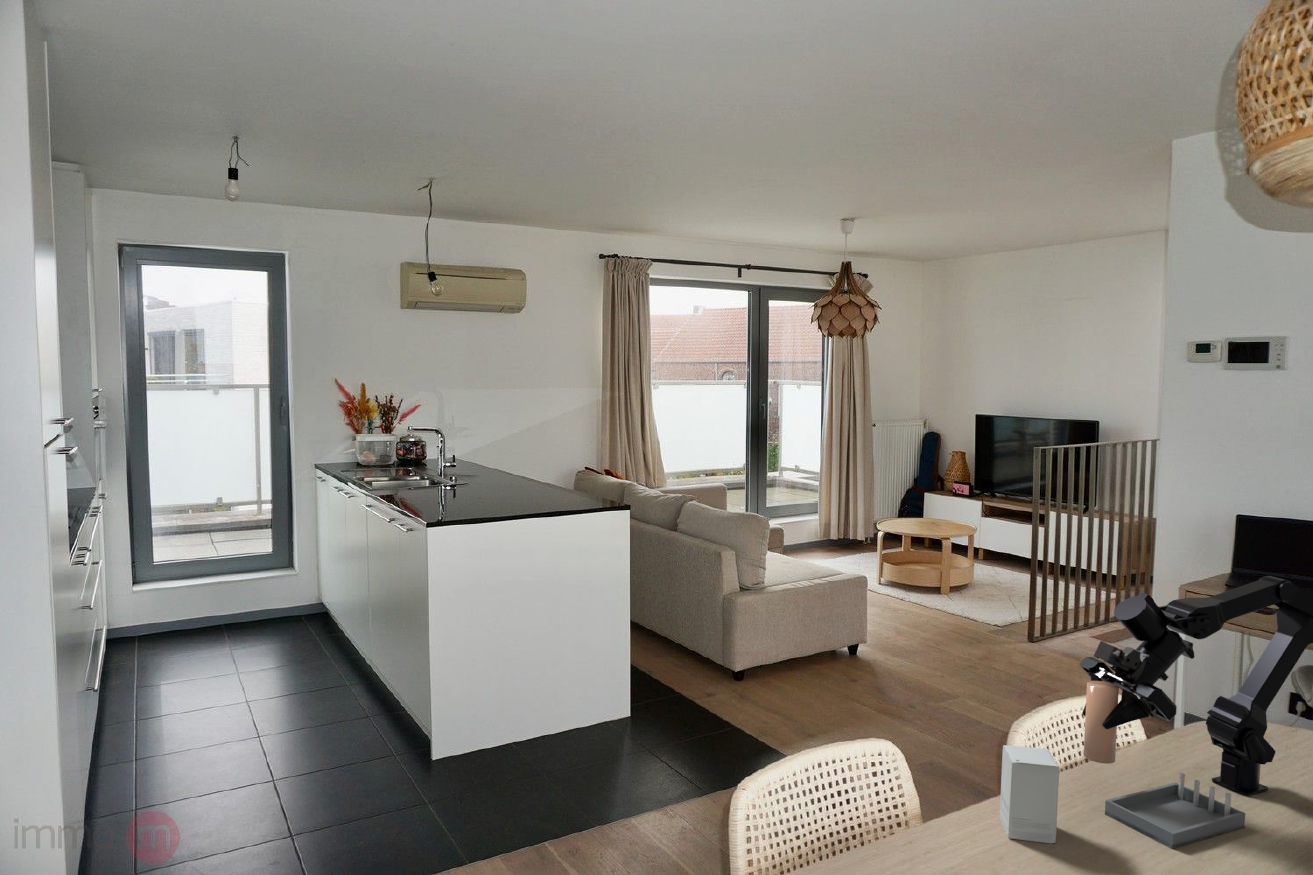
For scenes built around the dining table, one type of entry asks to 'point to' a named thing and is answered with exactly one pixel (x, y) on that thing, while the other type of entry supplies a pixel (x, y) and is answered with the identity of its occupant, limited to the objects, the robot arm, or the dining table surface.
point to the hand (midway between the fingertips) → (1094, 721)
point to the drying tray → (1176, 813)
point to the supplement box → (1029, 794)
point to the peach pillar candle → (1100, 722)
